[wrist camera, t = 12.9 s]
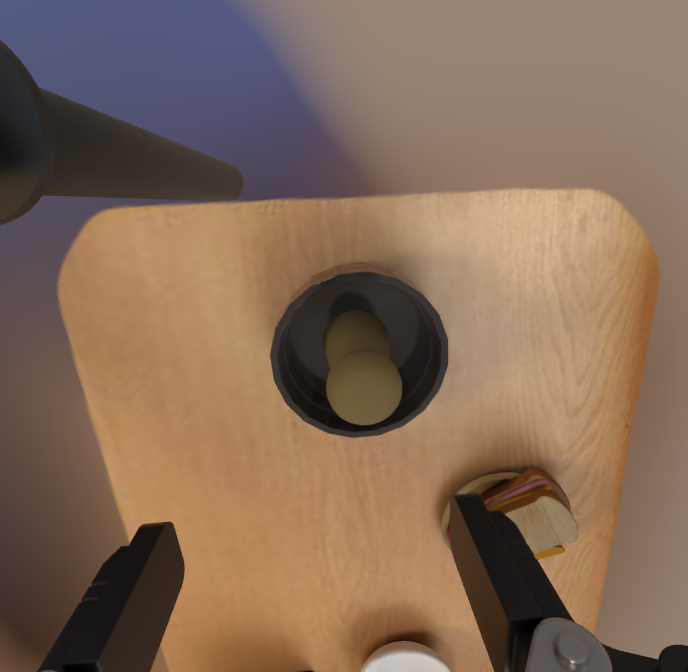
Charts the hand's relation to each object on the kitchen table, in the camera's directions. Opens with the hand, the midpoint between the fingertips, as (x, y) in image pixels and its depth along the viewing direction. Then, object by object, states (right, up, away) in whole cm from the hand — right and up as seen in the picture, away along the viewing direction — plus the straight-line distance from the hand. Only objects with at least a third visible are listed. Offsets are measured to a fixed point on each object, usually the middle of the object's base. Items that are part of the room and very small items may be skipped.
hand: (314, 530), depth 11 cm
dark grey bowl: (+2, +5, +25) cm, 25 cm away
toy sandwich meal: (+18, -13, +32) cm, 39 cm away
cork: (+2, +5, +24) cm, 25 cm away
